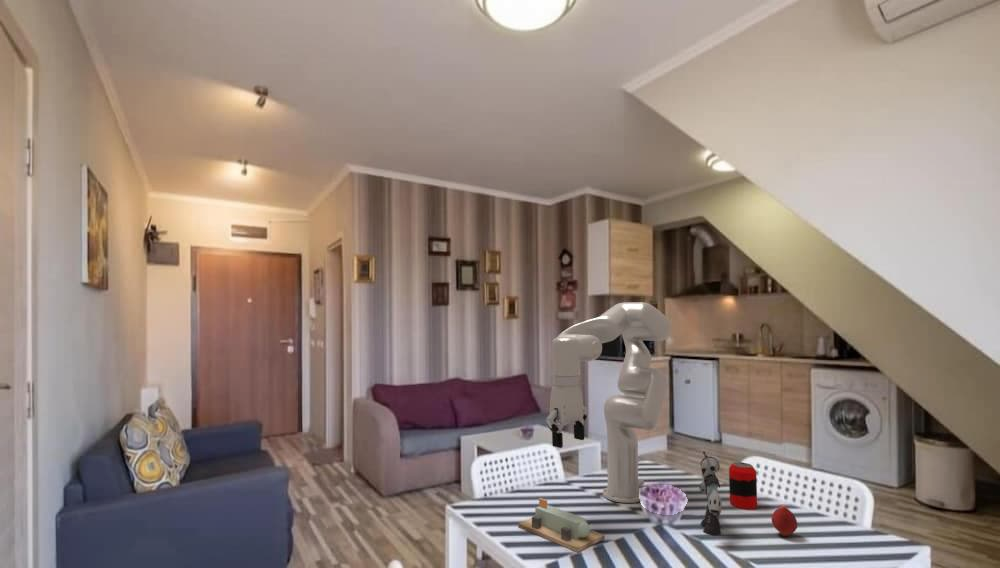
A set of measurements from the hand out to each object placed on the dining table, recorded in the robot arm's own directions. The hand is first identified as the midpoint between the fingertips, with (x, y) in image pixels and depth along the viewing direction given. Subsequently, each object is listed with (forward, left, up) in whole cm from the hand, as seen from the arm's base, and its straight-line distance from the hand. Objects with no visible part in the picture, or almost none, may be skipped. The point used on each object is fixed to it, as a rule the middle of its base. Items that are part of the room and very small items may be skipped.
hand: (568, 442), depth 140 cm
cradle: (+7, +3, -22) cm, 23 cm away
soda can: (-50, +28, -22) cm, 61 cm away
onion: (-35, +44, -22) cm, 60 cm away
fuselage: (+7, +3, -21) cm, 22 cm away
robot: (-25, +29, -22) cm, 44 cm away
